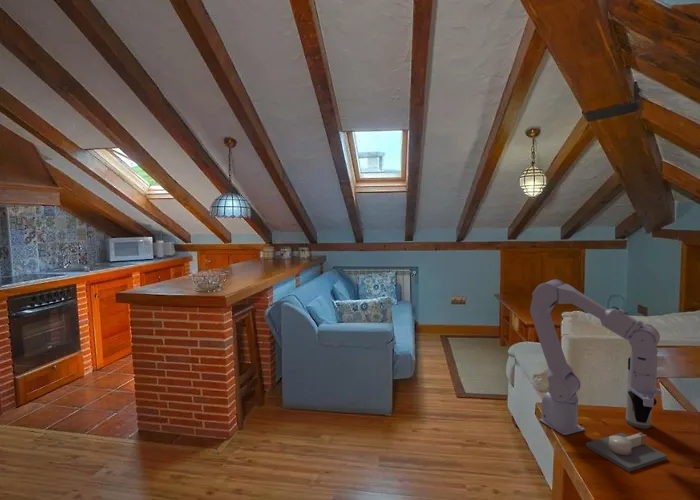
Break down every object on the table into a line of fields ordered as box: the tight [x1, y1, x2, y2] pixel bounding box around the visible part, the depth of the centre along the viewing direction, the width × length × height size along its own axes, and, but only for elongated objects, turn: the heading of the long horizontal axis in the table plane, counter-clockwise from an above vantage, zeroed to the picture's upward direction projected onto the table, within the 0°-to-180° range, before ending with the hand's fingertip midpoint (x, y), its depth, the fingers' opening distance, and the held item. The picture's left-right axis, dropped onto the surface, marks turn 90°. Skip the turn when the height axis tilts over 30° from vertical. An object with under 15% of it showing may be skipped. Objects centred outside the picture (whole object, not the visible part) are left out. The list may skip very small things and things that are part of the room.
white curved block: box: [609, 431, 648, 455], centre depth 108 cm, size 12×5×2 cm, turn 110°
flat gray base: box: [585, 432, 668, 473], centre depth 108 cm, size 12×14×1 cm
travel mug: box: [625, 356, 653, 430], centre depth 122 cm, size 6×7×20 cm
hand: (640, 421), depth 108 cm, fingers closed
